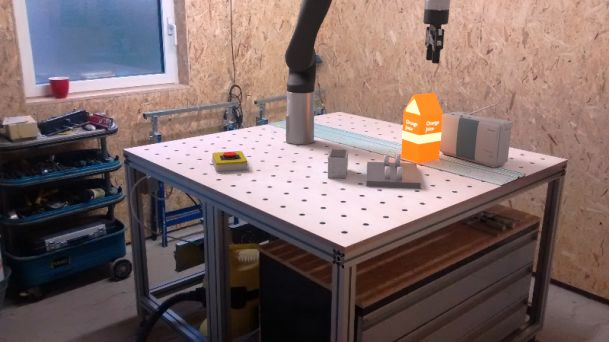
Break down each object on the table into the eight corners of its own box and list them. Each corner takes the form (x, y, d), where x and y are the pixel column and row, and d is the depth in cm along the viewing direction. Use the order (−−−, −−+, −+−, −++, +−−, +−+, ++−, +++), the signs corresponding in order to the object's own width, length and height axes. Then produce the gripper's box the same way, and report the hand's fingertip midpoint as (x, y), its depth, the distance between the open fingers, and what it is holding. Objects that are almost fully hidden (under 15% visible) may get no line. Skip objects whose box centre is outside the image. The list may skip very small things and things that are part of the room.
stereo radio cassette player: (436, 154, 175) (441, 91, 170) (453, 150, 180) (458, 88, 174) (494, 170, 160) (501, 101, 154) (510, 165, 164) (518, 98, 158)
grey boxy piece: (327, 178, 151) (328, 156, 150) (330, 169, 160) (330, 148, 158) (346, 179, 151) (346, 157, 149) (347, 169, 159) (348, 149, 158)
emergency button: (215, 160, 154) (210, 147, 167) (216, 175, 155) (211, 160, 169) (249, 158, 156) (241, 145, 170) (249, 173, 157) (241, 158, 171)
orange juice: (439, 159, 170) (444, 94, 164) (417, 163, 165) (422, 96, 159) (421, 153, 176) (426, 90, 170) (400, 157, 172) (404, 92, 166)
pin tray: (366, 186, 145) (366, 169, 144) (367, 166, 162) (367, 151, 161) (420, 188, 143) (421, 171, 142) (415, 168, 160) (416, 153, 159)
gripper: (419, 7, 177) (416, 59, 182) (429, 8, 163) (425, 64, 168) (443, 8, 177) (438, 59, 182) (455, 8, 163) (450, 64, 168)
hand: (432, 61), depth 175 cm, fingers open, 8 cm apart
